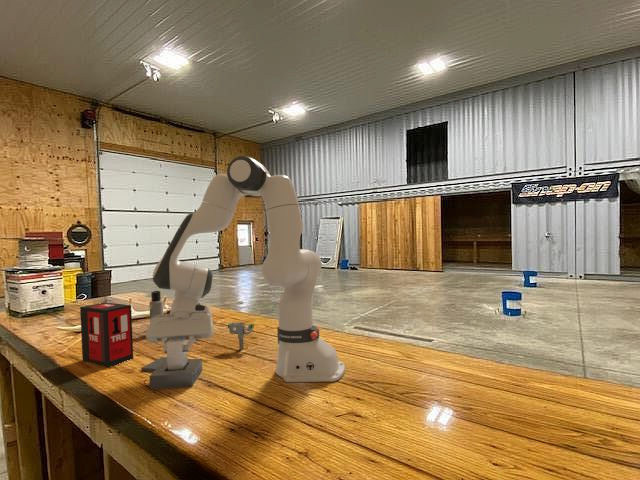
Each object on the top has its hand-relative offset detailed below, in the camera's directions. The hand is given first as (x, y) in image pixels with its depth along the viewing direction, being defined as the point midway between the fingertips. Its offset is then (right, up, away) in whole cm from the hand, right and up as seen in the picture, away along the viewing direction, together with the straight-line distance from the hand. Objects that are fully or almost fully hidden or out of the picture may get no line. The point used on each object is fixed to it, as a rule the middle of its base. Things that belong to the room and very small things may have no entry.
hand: (176, 351), depth 104 cm
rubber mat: (-9, -9, +13) cm, 18 cm away
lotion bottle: (-31, -9, +53) cm, 62 cm away
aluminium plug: (0, -6, +1) cm, 6 cm away
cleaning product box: (-34, -10, +21) cm, 41 cm away
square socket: (0, -9, +1) cm, 9 cm away
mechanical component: (+14, -8, +27) cm, 32 cm away
